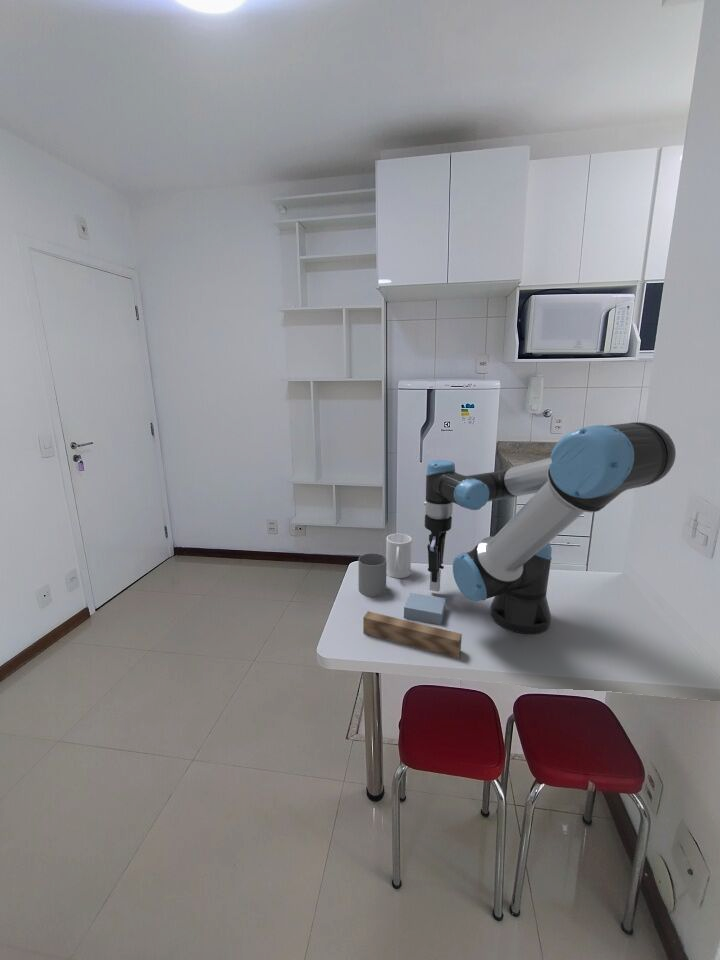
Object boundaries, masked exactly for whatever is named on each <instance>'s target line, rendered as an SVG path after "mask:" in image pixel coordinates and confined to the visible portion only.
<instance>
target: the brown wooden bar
mask: <svg viewBox="0 0 720 960" xmlns="http://www.w3.org/2000/svg"><path fill="white" fill-rule="evenodd" d="M362 618H363V621H362V622H363V630H362V631H363V632H362V633H363V634H366V635H369V636H373V637H378V638H382V639H385V640H390V641H393V642H397V643H400V644H404V645H408V646H412V647H416V648H419V649H422V650H427V651H431V652H434V653H438V654H442V655H446V656H449V657H454V658H457V659H458V658H459V657H460V653H461V649H462V639H463V638H462V635H463V634H462V633H460V632H456V631H451V630H447V629H444V628H439V627H435V626H431V625H428V624H427V625H426V624H422V623H418V622H414V621H410V620H406V619H402V618H397V617H393V616H389V615H385V614H381V613H377V612H374V611H373V612H372V611H368V610H367V612H366V613H365V614H364V616H363V617H362Z"/></svg>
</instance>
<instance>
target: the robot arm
mask: <svg viewBox="0 0 720 960" xmlns="http://www.w3.org/2000/svg"><path fill="white" fill-rule="evenodd" d="M676 457H677V456H676V446H675V443H674V441H673V440H672V438H671V436H670V435H669V434H668V433H667V432H666V431H665V430H664V429H663V428H661V427H659V426H657V425H654V424H652V423H647V422H640V421H639V422H638V421H637V422H635V421H634V422H628V423H626V422H625V423H619V424H609V425H603V424H602V425H601V424H596V425H589V426H585V427H582V428H578V429H575V430H572V431H570V432H568V433H567V434H565V435H564V436H563V437H562V438H560V439H559V440H558V441H557V442H556V444H555V445H554V447H553V449H552V451H551V454H550V457H548V458H544V459H541V460H537V461H533V462H528V463H526V464H521V465H518V466H514V467H509V468H506V469H501V470H497V471H492V472H484V473H478V474H470V475H463V474H460V473H457V472H456V465H455V463H454V461H451V460H447V459H435V460H434V459H433V460H430V461H429V462H428V463H427V464H426V465H427V468H426V469H427V470H426V475H425V479H426V481H425V501H424V502H423V505H424V506H425V507H424V508H425V509H424V510H425V514H424V528H425V529H426V530H428V531H430V534H429V535H428V541H429V543H428V544H427V554H428V555H427V556H428V557H427V558H428V561H427V562H428V565H427V566H428V568H427V571H428V572H429V578H430V579H429V590H430V591H433V592H436V593H437V592H440V589H441V573H442V570H444V568H445V566H444V565H443V563H444V553H445V552H444V551H445V543H446V536H447V532H448V531H450V530H451V529H452V525H453V524H452V521H453V517H452V515H453V509H454V507H453V506H454V504H456V505H458V506H459V507H461V508H464V509H467V510H471V511H478V510H480V509H481V508H483V507H484V506H486V504H487V503H488V502H493V501H499V500H506V499H512V498H516V497H521V496H526V495H531V494H532V495H533V494H534V495H533V496H532V497H531V498H530V499H529V500H528V501H527V502H526V503H525V504H524V505H523V506H522V507H521V508H520V509H519V511H517V512H516V514H514V515H513V516H512V518H510V520H509V521H508V522H507V523H506V524H505V525H504V526H503V527H502V528H501V529H500V530H499V531H498V532H497V533H496V534H495V535H494V536H487V537H484V538H483V539H482V540H481V541H480V542H478V543H477V544H476V546H475V547H473V549H472V550H469V551H468V552H461V553H460V554H457V555H456V556H455V557H454V559H453V563H452V573H453V574H452V575H453V578H454V581H455V584H456V586H457V588H458V590H459V591H460V593H461V594H462V595H463V597H465V599H468V600H469V601H471V602H481V601H486V600H487V599H488V600H489V599H490V598H493V599H492V601H491V603H490V611H489V613H490V616H491V618H492V620H493V621H494V622H495V623H496V624H498V625H499V626H501V627H503V629H506V630H509V631H511V632H513V633H514V632H515V633H518V634H525V635H535V634H540V633H544V632H545V631H547V630H548V629H549V627H550V625H551V619H552V615H551V611H550V606H549V602H548V598H547V592H548V591H547V590H548V586H549V585H548V584H549V583H548V582H549V577H550V570H551V569H550V568H551V562H552V559H553V558H552V549H553V548H552V546H551V544H550V542H551V541H553V540H554V539H555V538H556V537H557V536H558V535H559V534H561V533H562V532H563V531H564V530H566V528H568V527H569V526H570V525H571V524H572V523H573V522H574V521H576V520H577V519H578V518H579V517H581V515H583V514H584V513H597V512H600V511H601V510H602V509H604V508H605V507H606V506H607V505H608V504H610V503H611V502H613V500H614V499H616V498H617V497H618V496H620V495H621V494H622V493H624V492H625V491H627V490H632V489H636V488H642V487H646V486H649V485H652V484H654V483H657V482H658V481H660V480H661V479H663V478H665V477H666V476H667V475H668V474H669V472H670V471H671V469H672V467H673V466H674V463H675V461H676Z"/></svg>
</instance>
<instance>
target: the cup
mask: <svg viewBox="0 0 720 960" xmlns="http://www.w3.org/2000/svg"><path fill="white" fill-rule="evenodd" d="M357 561H358V592H359V593H360V594H361V595H363V596H365V597H378V596H379V597H380V596H382V595H384V594H385V593H386V592H387V574H386V566H387V560H386V556H384V555H383V554H379V553H376V552H375V553H373V552H370V553H369V552H368V553H365V554H362V555H360V556H359V557H358V560H357Z"/></svg>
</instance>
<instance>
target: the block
mask: <svg viewBox="0 0 720 960" xmlns="http://www.w3.org/2000/svg"><path fill="white" fill-rule="evenodd" d="M446 599H447V598H446V597H445V598H444V597H438V596H431V595H428V594H427V595H426V594H421V593H416V592H415V593H414V592H409V595H408V597H407V600H406V602H405V604H404V605H403V618H404V619H409V620H415V621H421V622H424V623H425V622H426V623H430V624H436V625H442V623H443V619H444V615H445V611H446V604H447V603H446V601H447V600H446Z"/></svg>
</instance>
